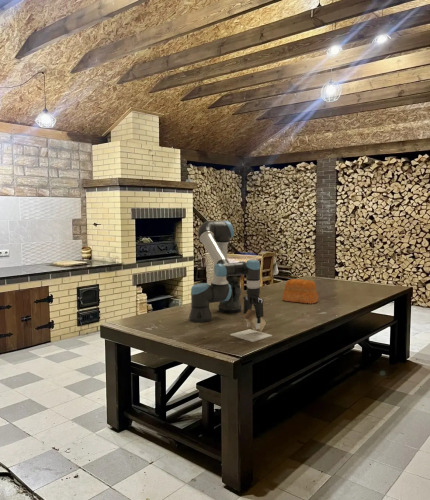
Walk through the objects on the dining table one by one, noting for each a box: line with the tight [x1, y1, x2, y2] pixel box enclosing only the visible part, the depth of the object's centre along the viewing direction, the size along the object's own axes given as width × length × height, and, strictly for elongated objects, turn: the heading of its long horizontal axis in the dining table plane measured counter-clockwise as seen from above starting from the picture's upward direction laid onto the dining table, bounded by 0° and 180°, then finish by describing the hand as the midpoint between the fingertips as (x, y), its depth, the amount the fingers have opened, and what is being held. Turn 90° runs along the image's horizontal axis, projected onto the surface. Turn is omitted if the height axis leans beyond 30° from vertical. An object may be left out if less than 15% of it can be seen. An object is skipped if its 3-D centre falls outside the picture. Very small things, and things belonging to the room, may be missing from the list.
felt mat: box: [229, 328, 273, 343], centre depth 249 cm, size 18×16×1 cm
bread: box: [282, 278, 319, 305], centre depth 343 cm, size 16×26×17 cm, turn 56°
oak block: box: [242, 309, 267, 332], centre depth 251 cm, size 6×6×12 cm
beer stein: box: [218, 276, 243, 314], centre depth 311 cm, size 16×19×25 cm
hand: (253, 327), depth 250 cm, fingers closed on oak block, 6 cm apart
